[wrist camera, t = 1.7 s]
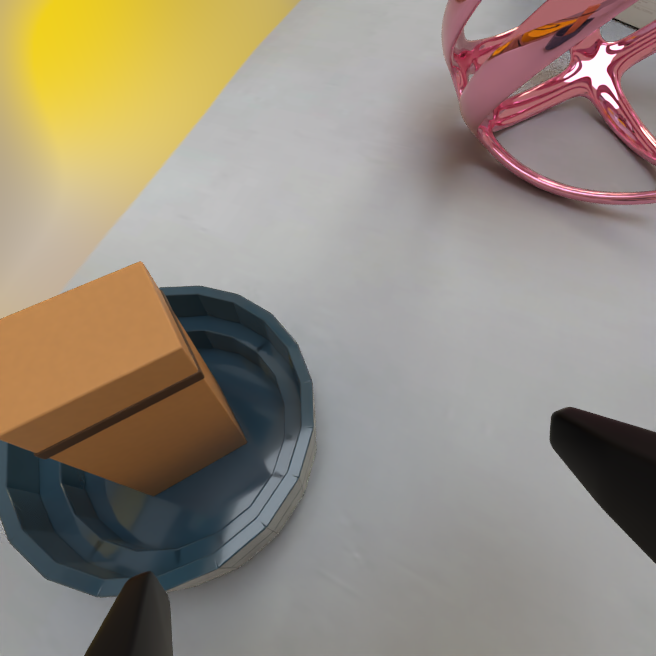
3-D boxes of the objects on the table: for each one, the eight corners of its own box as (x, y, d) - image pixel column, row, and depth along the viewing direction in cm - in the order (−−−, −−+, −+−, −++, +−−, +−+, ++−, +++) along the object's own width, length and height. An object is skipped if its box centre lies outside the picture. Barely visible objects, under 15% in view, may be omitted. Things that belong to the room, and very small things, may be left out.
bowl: (269, 628, 19) (248, 651, 14) (8, 539, 21) (-87, 532, 16) (342, 363, 26) (345, 318, 21) (142, 314, 28) (103, 263, 23)
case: (249, 443, 22) (185, 347, 12) (152, 499, 21) (-10, 441, 11) (219, 383, 24) (142, 258, 14) (128, 431, 23) (-30, 328, 13)
